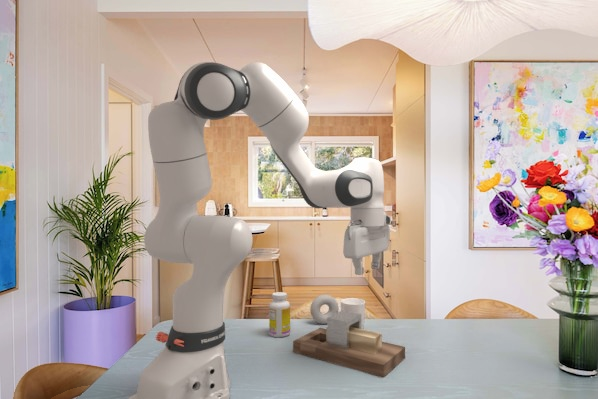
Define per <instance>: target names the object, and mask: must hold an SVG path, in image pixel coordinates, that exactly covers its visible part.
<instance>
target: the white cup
mask: <svg viewBox="0 0 598 399" xmlns="http://www.w3.org/2000/svg"><path fill="white" fill-rule="evenodd" d="M340 311H348V312H353V313H358V314H361V329H363V330H365V329H364V328H365V319H366V318H365V317H366V300H364V299H361V298H356V297H350V298H349V297H347V298H342V299H341V300H340Z"/></svg>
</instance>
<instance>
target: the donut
mask: <svg viewBox="0 0 598 399" xmlns="http://www.w3.org/2000/svg"><path fill="white" fill-rule="evenodd" d="M325 305H326V306H327V307H328V311H327V312H326V313H322V312H321V308H322V306H325ZM309 310H310V316H311V317H312V319H313V321H315V322H316V323H319V324H322V325H327V318H328V317H330V316H332V315H334V314H336V313H338V312H339V304H338V301H337V300H336V299H335V298H334V297H333V296H332V295H330V294H320V295H318V296H316V297H315V298H314V299H313V300H312V302H311V304H310V309H309Z"/></svg>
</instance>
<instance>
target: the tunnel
mask: <svg viewBox="0 0 598 399" xmlns="http://www.w3.org/2000/svg"><path fill="white" fill-rule="evenodd" d="M349 327H354V328H358V329H361V314H358V313H353V312H348V311H341V310H340V311H338V313H336V314H334V315H332V316H330V317H328V318H327V324H326V328H327V345H328V346H331V347H335V348H339V349H343V350H348V349H349Z"/></svg>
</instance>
